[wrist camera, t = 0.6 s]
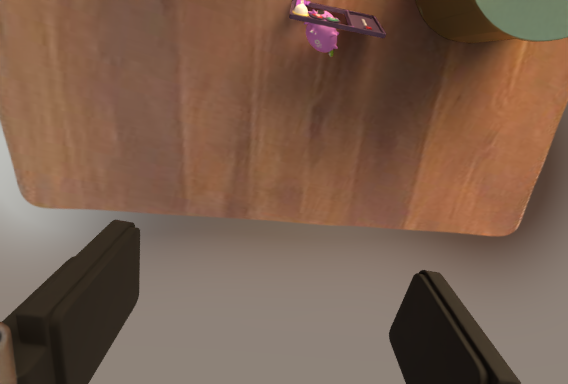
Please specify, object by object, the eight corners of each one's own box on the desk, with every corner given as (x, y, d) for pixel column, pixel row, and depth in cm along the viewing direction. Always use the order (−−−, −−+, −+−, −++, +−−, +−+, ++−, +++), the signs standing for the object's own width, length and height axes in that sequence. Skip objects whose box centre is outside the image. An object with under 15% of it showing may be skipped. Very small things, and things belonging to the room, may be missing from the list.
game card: (390, 25, 28) (291, 4, 27) (369, 81, 31) (281, 64, 31) (377, 8, 33) (293, -10, 32) (361, 58, 36) (285, 42, 36)
